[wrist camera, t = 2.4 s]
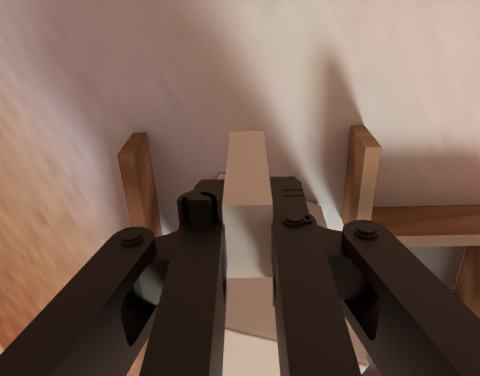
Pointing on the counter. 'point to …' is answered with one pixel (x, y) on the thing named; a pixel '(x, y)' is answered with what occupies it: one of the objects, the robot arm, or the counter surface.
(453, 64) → the counter surface
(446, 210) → the lane
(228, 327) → the supplement box
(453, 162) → the counter surface
